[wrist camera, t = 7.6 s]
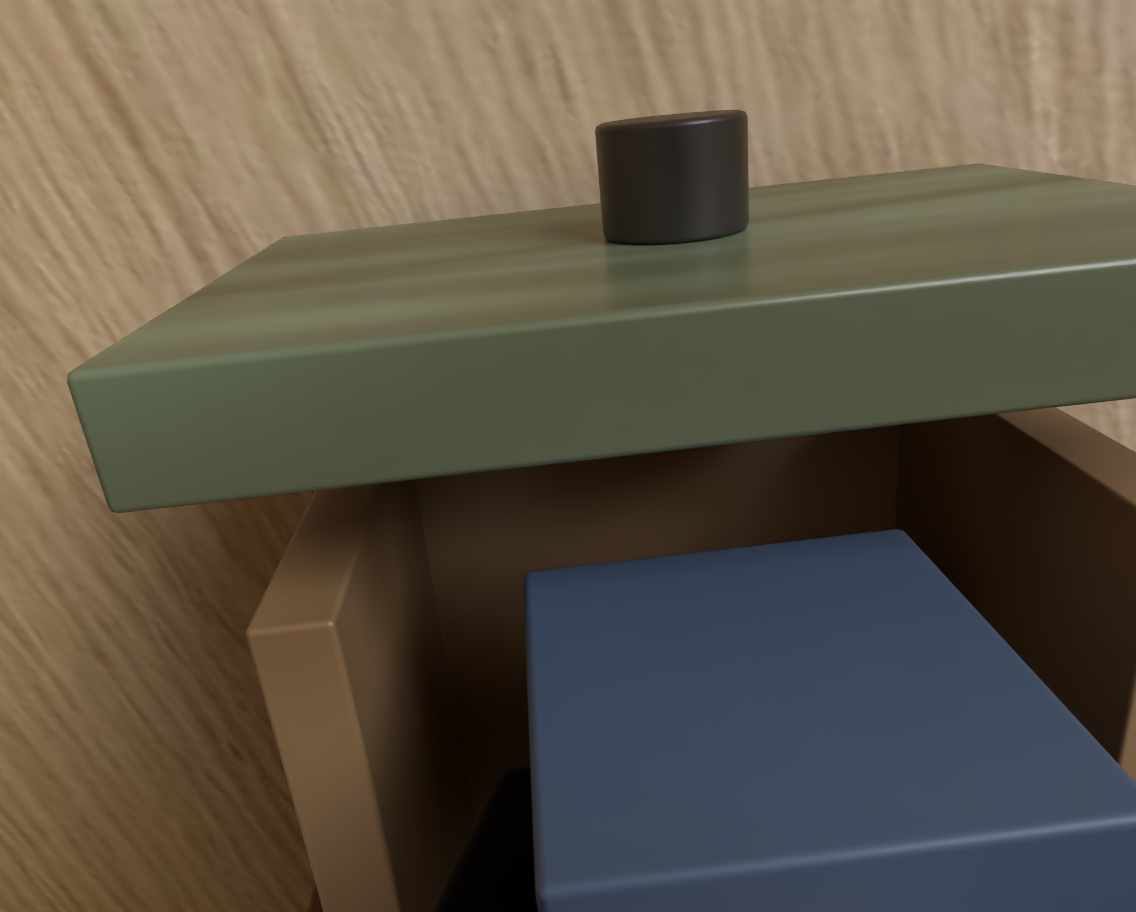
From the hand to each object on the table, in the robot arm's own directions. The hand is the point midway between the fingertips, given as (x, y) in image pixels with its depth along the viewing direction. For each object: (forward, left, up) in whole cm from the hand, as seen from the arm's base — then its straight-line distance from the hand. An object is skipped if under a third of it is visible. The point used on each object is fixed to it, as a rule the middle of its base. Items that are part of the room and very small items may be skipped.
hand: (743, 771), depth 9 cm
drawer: (0, -1, -6) cm, 6 cm away
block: (0, 0, -1) cm, 1 cm away
